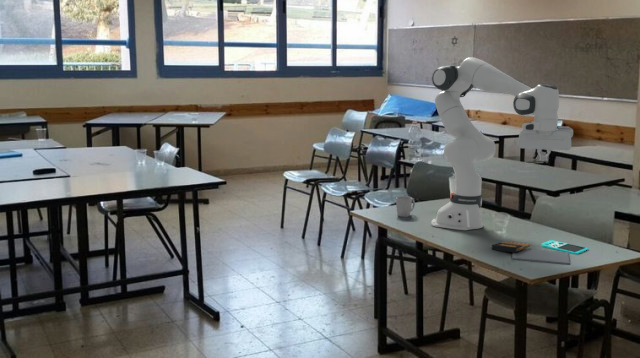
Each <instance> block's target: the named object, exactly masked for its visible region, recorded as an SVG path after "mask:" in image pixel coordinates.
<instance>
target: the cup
mask: <svg viewBox="0 0 640 358" xmlns="http://www.w3.org/2000/svg"><path fill="white" fill-rule="evenodd" d="M415 201H416V200H415V199H414V198H413V197H411V196H405V195H401V196H395V203H396V215H397V217H400V218H408V217H410V215H411V212H413V210H414V208H415V206H416V202H415Z"/></svg>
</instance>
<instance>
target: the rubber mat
mask: <svg viewBox="0 0 640 358" xmlns="http://www.w3.org/2000/svg"><path fill="white" fill-rule="evenodd" d="M511 260H516V261H518V260H519V261H525V262H526V261H527V262H536V263H537V262H538V263H547V264H559V265H571V262H570V255H569V253H568V252H563V251H558V250H545V249H533V248H526V249H523V250H522V251H519V252H517V253H514V252H512V258H511Z"/></svg>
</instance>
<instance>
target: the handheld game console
mask: <svg viewBox="0 0 640 358" xmlns="http://www.w3.org/2000/svg"><path fill="white" fill-rule="evenodd" d="M540 245H541V247H542V248H546V249H550V250H553V251H559V252H568V254H572V255H576V256H577V255H579V254H582V253H585V252H587V251H589V247H585V246H579V245H576V244H571V243H567V242H561V241H557V240H553V239H549V240H548V241H545V242H542V243H541V244H540ZM586 250H587V251H586ZM584 251H585V252H584Z"/></svg>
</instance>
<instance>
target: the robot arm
mask: <svg viewBox="0 0 640 358" xmlns="http://www.w3.org/2000/svg"><path fill="white" fill-rule="evenodd" d="M431 81H432V84H433V86H434V87H435V88H437V89H438V90H440V92H438V94H436V95H435V98H434V103H435V108H436V110H437V114H438V116H439V118H440V121H441V122H442V125H443V128H444V129H445V131H446V133H447V134H448V135H449V136H450V137H452V138H455V139H452V140H449V141H448V142H446V144H445V145H444V147H443V156H444V158H445V161H447V162H448V163H449V164H450V166H451V167H452V169H453V172H454V179H455V187H454V189H455V190H454V191H452V192H451V193H450V194H449V196H450V197H449V200H450V201H449V202H447V203H446V204H444V205H443V206H441V207H440V208H439V209H438V211H437V213H436V217H434V218H433V219H432V220H431V222H430V223H431V226H432V227H437V228H444V229H451V230H458V231H469V230H476V229H481V228H483V227H484V224H483V219H482V218H483V217H482V209H481V208H482V206H483V205H482V204H483V195H482V179H483V178H482V176H481V175H480V174H479V173H478V172H477V171H476V170H475V165H474V163H480V162H481V163H482V162H486V161H488V160H490V159H492V158H493V157H494V156H495V155H496V149H497V147H496V143H495V141H494V140H493V139H492V138H490V137H488V136H487V135H485V134H483V133H482V132H481V131H480V130H479V129H478V128H477V127H476V126H475V125H474V124H473V122H472V121H471V119H470V117H469V116H468V114H467V112H466V110H465V107H464V106H463V104H462V101H461V98H464V97H465V96H466V95H467V94H468V93H469V92H470V91H471V90H472V89H473V88H474V87H475V88H476V89H478V90H481V91H484V92H486V93H492V94H494V93H496V94H507V95H512V96H514V99H513V104H512V106H513V109H514V111H515V113H516V114H517V115H520V116H523V117H525V116H526V117H527V116H533V120H531V121H528V122H525V123H522V125H521V129H522V130H521V131H520V132H519V135H518V139H517V140H518V141H517V147H518V148H519V149H529V150H533V149H534V150H536V153H537V154H538V155H539V159H538V160H539V161H544V162H547V161H548V156H550V154H551V150H555V151H557V150H558V151H570V150H571V149H572V138H573V137H574V129H573V128H572V127H570V126H567V125H566V126H563V125H562V126H561V125H558V123H559V122H558V121H559V117H558V110H559V105H560V93H559V92H560V91H559V88H558V86H556V85H553V84H550V83H539V84H537V85H536V86H535V87H532V86H530V85H528V84H526V83H524V82H522V81H520V80H518V79H516V78H515V77H512V76H511V75H508V74H507V73H505V72H504V71H501V70H500V69H498V68H497V67H495V66H493V65H492V64H490V63H489V62H486V61H485V60H482V59H479V58H477V57H474V56H469V57H466V58H465V59H463V61H462V62H461V63H460V65H459V66H455V65H453V64H452V65H443V66H439V67H437V68H436V69H434V71H433V73H432V76H431ZM542 150H546V152H547V153H546V154H545V155H542V154H541V152H542Z"/></svg>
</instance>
